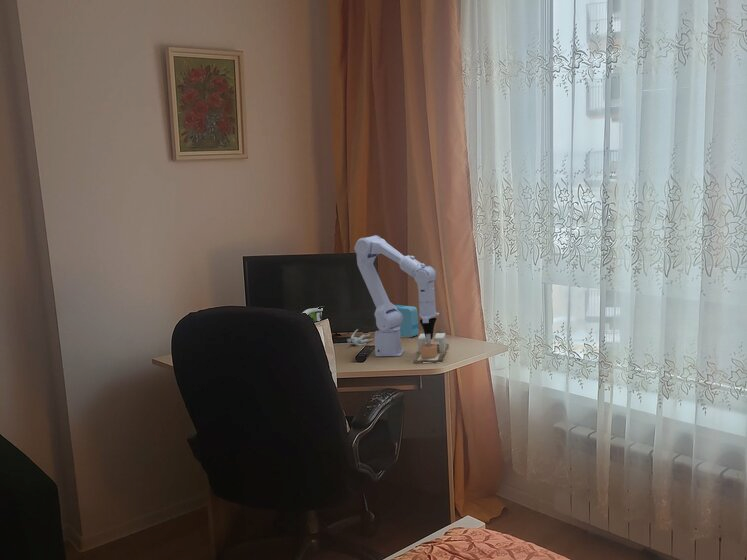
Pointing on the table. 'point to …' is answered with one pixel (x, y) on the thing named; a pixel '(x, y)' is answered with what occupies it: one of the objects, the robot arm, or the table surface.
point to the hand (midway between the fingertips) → (429, 338)
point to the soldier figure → (359, 339)
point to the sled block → (428, 348)
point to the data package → (408, 321)
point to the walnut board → (438, 358)
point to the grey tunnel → (437, 338)
